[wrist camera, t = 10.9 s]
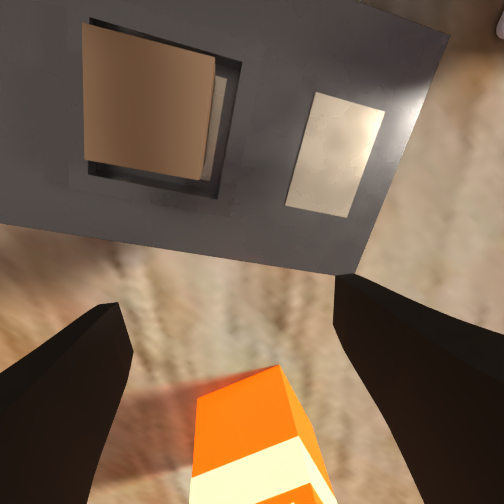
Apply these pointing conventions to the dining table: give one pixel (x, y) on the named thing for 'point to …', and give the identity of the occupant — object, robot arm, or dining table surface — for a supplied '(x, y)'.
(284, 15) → the gray socket plate
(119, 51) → the walnut block
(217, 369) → the dining table surface
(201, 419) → the orange juice
